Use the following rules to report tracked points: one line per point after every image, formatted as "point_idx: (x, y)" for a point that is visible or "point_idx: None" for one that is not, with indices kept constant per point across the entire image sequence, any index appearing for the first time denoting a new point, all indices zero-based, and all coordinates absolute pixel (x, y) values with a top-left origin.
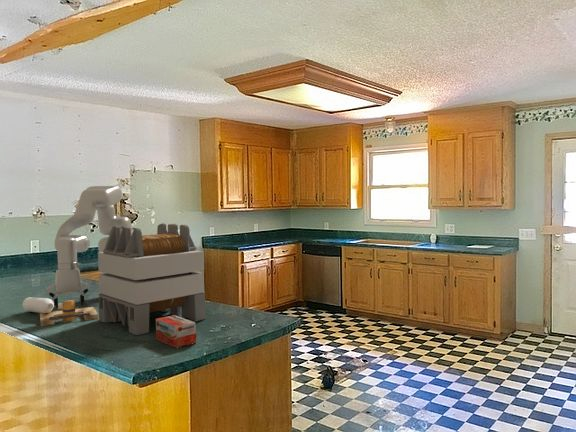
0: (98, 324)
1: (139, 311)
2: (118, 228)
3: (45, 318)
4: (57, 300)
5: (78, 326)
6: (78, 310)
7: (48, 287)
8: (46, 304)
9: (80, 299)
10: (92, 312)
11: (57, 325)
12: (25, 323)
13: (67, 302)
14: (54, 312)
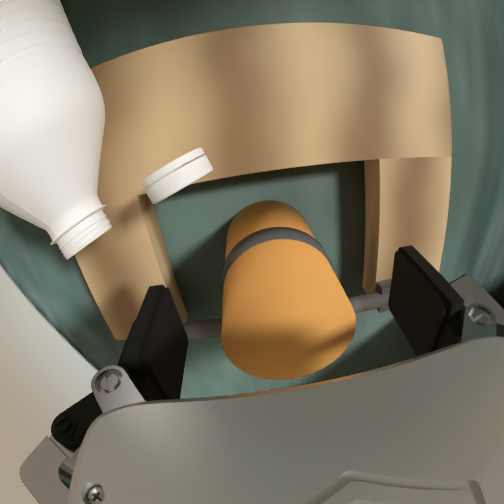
0: (390, 362)
1: None
2: None
3: (115, 287)
4: (175, 397)
5: (313, 374)
6: (343, 101)
7: (38, 499)
8: (42, 228)
9: (413, 312)
10: (425, 230)
11: (210, 337)
12: (23, 231)
13: (277, 368)
14: (129, 100)
